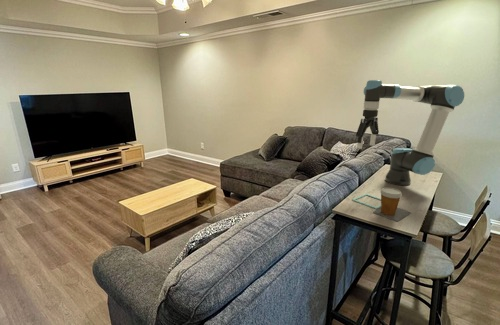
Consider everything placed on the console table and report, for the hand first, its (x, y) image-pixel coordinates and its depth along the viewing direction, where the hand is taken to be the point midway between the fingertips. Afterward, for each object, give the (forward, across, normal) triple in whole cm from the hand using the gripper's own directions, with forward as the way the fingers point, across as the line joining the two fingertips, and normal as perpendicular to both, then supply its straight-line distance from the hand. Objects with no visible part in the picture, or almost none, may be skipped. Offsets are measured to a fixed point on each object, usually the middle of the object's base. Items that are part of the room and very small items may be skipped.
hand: (365, 147), depth 151 cm
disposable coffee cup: (+28, +14, +23) cm, 39 cm away
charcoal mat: (+29, +11, +24) cm, 39 cm away
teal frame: (+29, +6, +10) cm, 31 cm away
